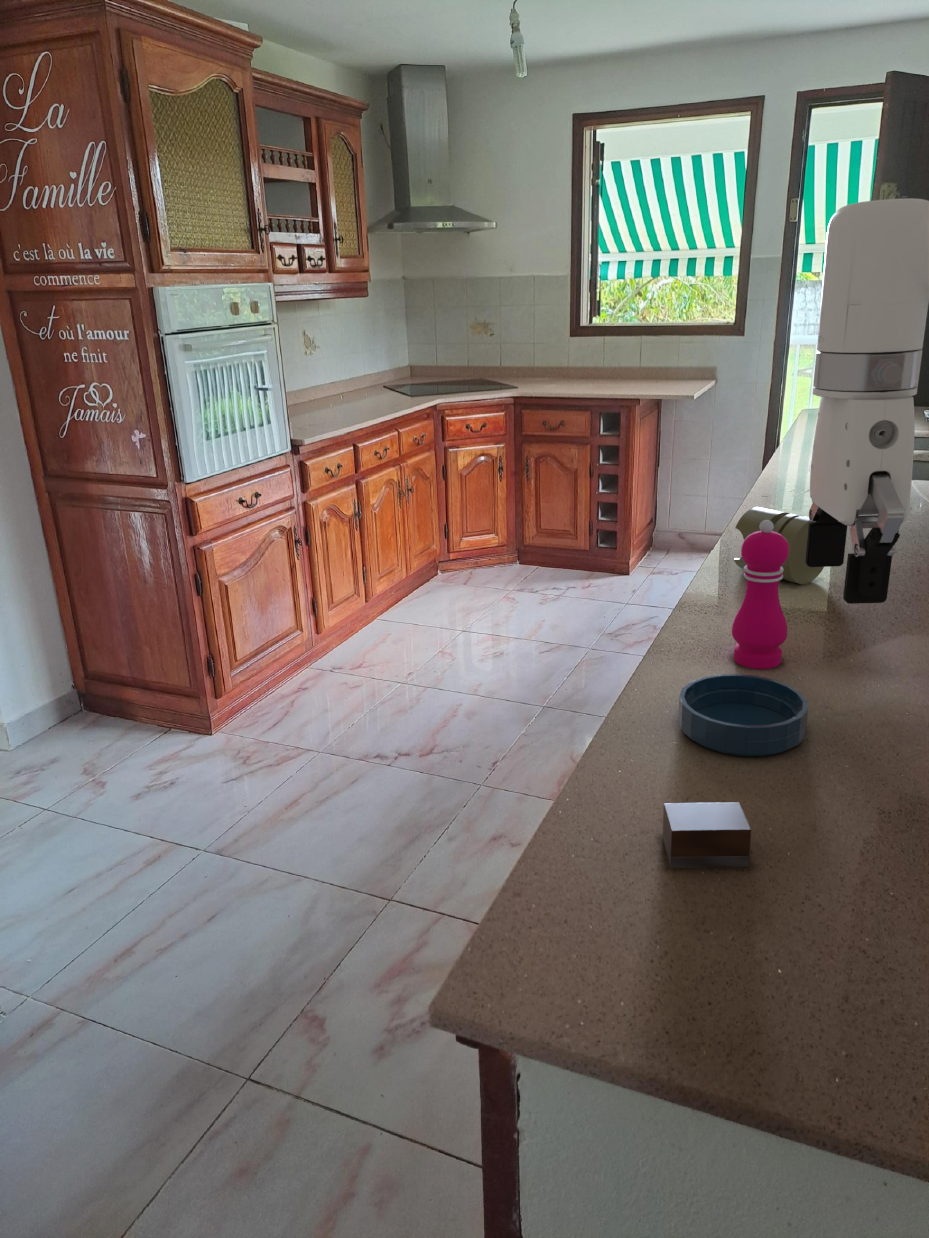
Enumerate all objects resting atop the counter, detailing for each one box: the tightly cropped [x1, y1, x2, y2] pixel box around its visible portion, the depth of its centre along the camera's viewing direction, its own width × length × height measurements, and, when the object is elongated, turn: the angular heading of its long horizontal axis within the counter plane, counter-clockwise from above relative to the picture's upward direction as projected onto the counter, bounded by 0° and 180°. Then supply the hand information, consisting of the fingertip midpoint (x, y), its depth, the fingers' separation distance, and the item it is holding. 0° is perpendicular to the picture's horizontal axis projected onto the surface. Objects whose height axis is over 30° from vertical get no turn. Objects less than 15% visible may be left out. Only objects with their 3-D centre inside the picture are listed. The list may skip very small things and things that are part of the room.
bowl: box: [677, 673, 809, 757], centre depth 103 cm, size 14×14×4 cm
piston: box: [733, 506, 825, 585], centre depth 154 cm, size 11×12×11 cm
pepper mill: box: [731, 520, 789, 670], centre depth 118 cm, size 7×7×20 cm
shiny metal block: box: [662, 801, 752, 869], centre depth 81 cm, size 7×4×4 cm, turn 87°
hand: (842, 582), depth 75 cm, fingers open, 9 cm apart
